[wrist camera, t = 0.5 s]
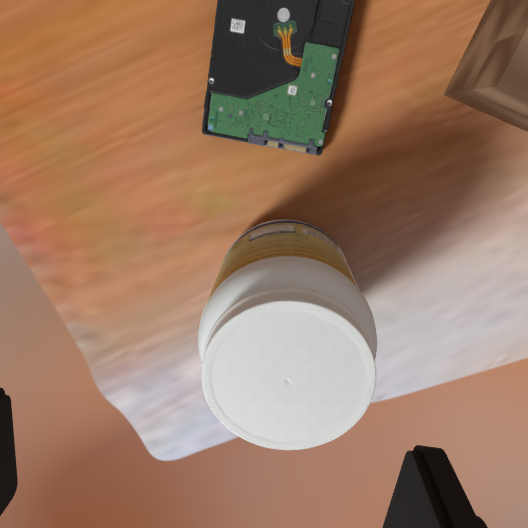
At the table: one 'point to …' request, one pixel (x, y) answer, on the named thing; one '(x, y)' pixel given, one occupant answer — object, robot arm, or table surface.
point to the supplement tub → (287, 339)
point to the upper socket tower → (496, 64)
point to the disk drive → (275, 71)
